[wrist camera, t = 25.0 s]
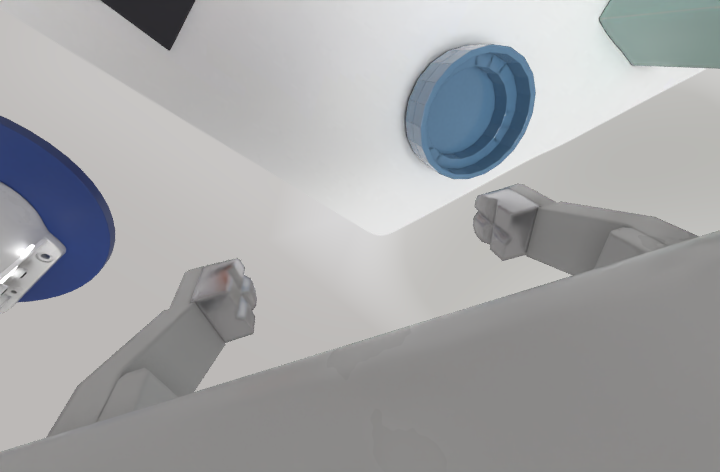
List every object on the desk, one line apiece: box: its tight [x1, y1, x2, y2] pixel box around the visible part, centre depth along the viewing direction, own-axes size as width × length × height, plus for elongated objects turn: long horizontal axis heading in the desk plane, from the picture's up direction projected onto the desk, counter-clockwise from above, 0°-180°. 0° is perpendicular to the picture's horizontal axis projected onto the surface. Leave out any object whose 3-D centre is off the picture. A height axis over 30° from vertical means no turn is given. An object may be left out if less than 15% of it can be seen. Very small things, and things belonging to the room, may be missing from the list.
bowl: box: [405, 44, 536, 179], centre depth 37 cm, size 15×15×6 cm
